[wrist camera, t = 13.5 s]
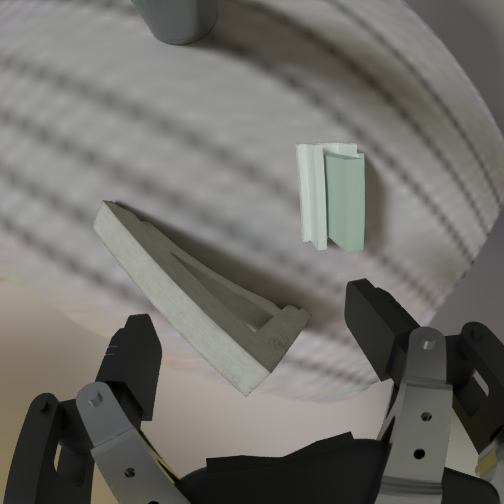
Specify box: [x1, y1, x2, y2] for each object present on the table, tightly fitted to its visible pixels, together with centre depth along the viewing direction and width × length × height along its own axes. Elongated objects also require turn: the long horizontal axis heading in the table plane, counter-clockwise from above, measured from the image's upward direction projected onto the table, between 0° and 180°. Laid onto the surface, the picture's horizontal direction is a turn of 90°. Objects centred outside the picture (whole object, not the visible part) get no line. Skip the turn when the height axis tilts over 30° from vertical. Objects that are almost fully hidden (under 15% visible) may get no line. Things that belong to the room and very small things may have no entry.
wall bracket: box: [92, 200, 312, 396], centre depth 39 cm, size 22×4×30 cm
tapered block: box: [323, 153, 365, 253], centre depth 33 cm, size 11×3×8 cm, turn 6°
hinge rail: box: [295, 142, 365, 250], centre depth 36 cm, size 14×8×5 cm, turn 6°
